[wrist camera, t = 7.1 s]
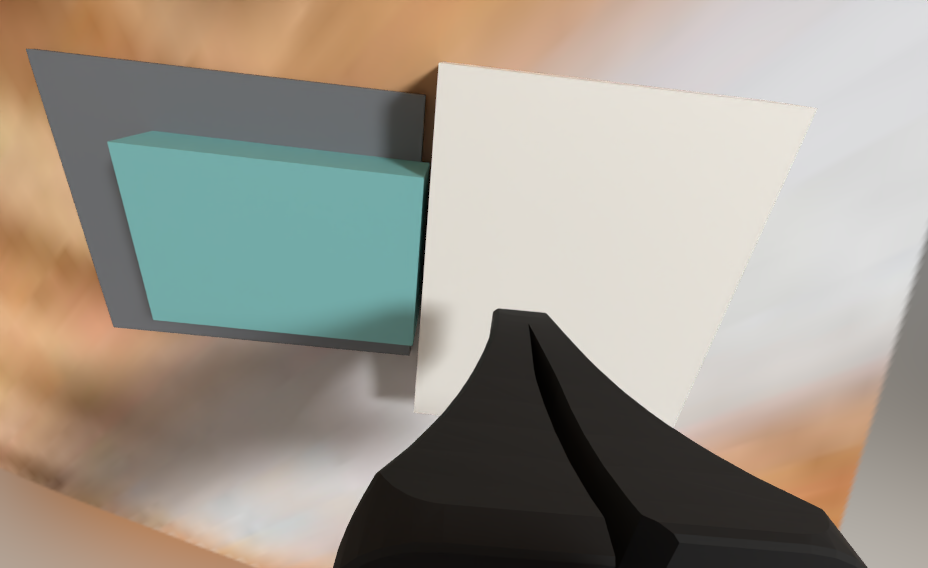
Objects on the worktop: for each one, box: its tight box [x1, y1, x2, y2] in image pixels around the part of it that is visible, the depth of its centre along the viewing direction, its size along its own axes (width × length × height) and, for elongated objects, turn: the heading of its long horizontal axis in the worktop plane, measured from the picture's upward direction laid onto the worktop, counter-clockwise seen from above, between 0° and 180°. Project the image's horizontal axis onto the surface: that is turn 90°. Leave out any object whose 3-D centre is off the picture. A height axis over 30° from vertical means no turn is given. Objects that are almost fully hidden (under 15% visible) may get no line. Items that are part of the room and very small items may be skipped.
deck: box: [414, 62, 818, 428], centre depth 15 cm, size 12×10×2 cm
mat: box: [26, 49, 426, 355], centre depth 16 cm, size 10×12×1 cm
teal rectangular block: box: [107, 131, 430, 346], centre depth 15 cm, size 6×9×2 cm, turn 84°
